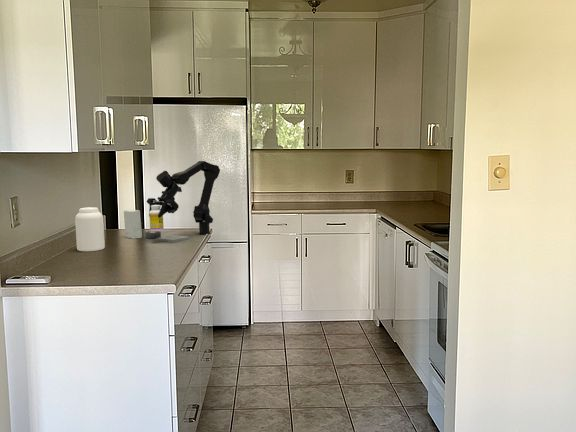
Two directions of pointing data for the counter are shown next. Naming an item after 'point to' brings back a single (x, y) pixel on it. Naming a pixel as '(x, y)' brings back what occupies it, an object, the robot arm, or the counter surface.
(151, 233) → the dark grey thick disc
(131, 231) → the skincare box
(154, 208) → the supplement bottle
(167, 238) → the grey flat square piece
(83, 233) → the white jar
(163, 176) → the robot arm
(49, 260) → the counter surface
